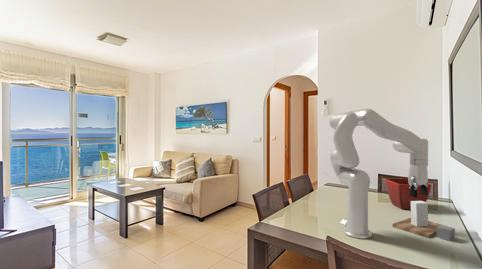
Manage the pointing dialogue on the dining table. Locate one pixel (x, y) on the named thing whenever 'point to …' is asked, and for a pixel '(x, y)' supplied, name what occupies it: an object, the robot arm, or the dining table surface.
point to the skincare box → (419, 213)
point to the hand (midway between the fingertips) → (418, 195)
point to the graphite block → (445, 232)
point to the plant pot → (403, 193)
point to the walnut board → (417, 228)
